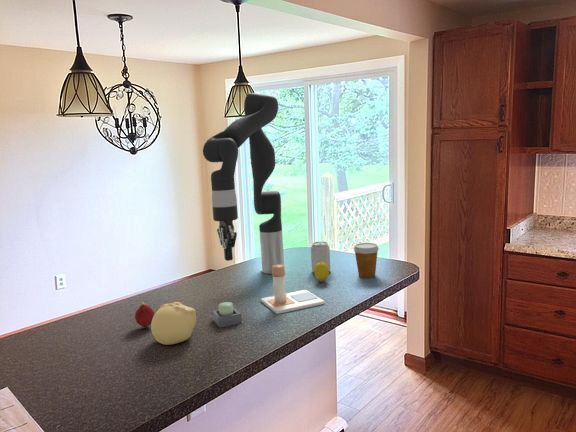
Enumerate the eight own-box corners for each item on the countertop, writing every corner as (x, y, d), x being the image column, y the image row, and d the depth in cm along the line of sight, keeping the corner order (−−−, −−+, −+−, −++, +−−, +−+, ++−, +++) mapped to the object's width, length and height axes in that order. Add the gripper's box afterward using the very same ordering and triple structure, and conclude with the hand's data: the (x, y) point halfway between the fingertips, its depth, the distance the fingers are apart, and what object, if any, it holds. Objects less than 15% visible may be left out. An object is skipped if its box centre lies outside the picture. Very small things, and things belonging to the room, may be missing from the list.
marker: (272, 300, 163) (269, 266, 161) (283, 298, 164) (281, 263, 162) (277, 304, 159) (274, 268, 157) (289, 301, 160) (286, 266, 158)
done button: (217, 316, 151) (216, 303, 150) (231, 313, 152) (230, 301, 152) (221, 320, 147) (220, 308, 146) (235, 317, 148) (234, 305, 148)
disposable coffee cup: (363, 270, 195) (363, 241, 193) (384, 274, 188) (383, 244, 186) (349, 276, 188) (348, 246, 186) (370, 280, 181) (369, 249, 179)
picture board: (260, 301, 166) (260, 297, 166) (305, 292, 173) (305, 288, 173) (276, 314, 154) (276, 310, 153) (324, 303, 160) (324, 300, 160)
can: (309, 273, 195) (307, 244, 193) (315, 268, 202) (314, 240, 200) (327, 274, 192) (325, 245, 190) (332, 269, 199) (331, 240, 197)
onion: (159, 324, 151) (157, 299, 149) (148, 332, 145) (145, 306, 144) (143, 323, 153) (141, 298, 151) (132, 330, 147) (129, 305, 146)
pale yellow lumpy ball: (204, 334, 141) (200, 299, 139) (176, 352, 131) (172, 313, 129) (173, 329, 147) (170, 294, 145) (144, 345, 136) (140, 308, 134)
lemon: (329, 279, 186) (328, 259, 185) (329, 283, 181) (328, 263, 179) (315, 279, 187) (314, 259, 185) (314, 284, 181) (313, 263, 180)
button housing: (213, 320, 152) (212, 311, 151) (234, 315, 154) (233, 306, 154) (219, 327, 145) (218, 318, 145) (241, 323, 148) (240, 313, 147)
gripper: (243, 205, 144) (247, 262, 147) (229, 202, 156) (233, 254, 159) (218, 207, 141) (223, 265, 144) (206, 204, 153) (211, 258, 156)
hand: (228, 260), depth 151 cm, fingers closed
